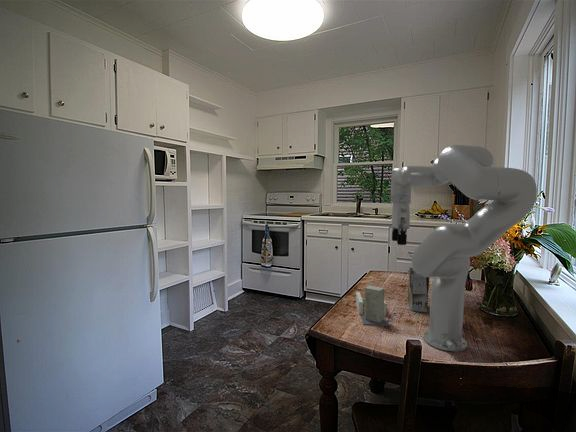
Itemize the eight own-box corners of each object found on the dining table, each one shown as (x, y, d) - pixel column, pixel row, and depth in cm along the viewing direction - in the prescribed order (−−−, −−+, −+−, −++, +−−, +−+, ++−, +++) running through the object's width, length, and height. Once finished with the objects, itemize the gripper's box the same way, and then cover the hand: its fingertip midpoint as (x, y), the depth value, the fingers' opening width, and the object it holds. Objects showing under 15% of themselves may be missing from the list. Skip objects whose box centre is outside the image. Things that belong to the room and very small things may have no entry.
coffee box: (428, 312, 124) (430, 273, 123) (411, 311, 125) (413, 272, 124) (422, 304, 133) (424, 267, 132) (407, 303, 134) (408, 267, 133)
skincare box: (384, 319, 115) (385, 288, 115) (379, 323, 112) (380, 290, 111) (368, 315, 120) (369, 284, 119) (363, 318, 116) (364, 287, 115)
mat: (389, 326, 111) (389, 325, 111) (363, 324, 112) (363, 323, 112) (384, 316, 120) (384, 315, 120) (360, 314, 121) (360, 313, 121)
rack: (386, 315, 120) (386, 303, 120) (358, 314, 121) (359, 302, 121) (380, 304, 133) (380, 293, 132) (355, 303, 134) (356, 291, 133)
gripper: (416, 200, 112) (414, 246, 113) (404, 199, 129) (403, 239, 130) (395, 200, 113) (393, 246, 114) (386, 199, 130) (384, 239, 131)
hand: (398, 242), depth 122 cm, fingers open, 9 cm apart
